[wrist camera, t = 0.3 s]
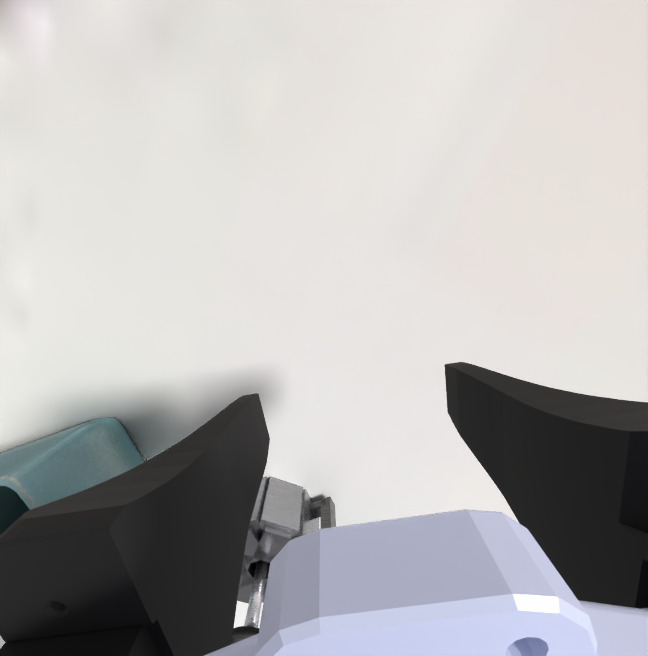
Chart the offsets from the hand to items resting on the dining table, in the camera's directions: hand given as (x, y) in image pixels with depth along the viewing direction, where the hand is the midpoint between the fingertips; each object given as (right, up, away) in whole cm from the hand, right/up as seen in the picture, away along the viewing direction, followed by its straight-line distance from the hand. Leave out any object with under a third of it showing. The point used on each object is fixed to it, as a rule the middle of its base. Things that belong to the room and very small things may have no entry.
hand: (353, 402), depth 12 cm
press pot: (-6, -13, +14) cm, 20 cm away
